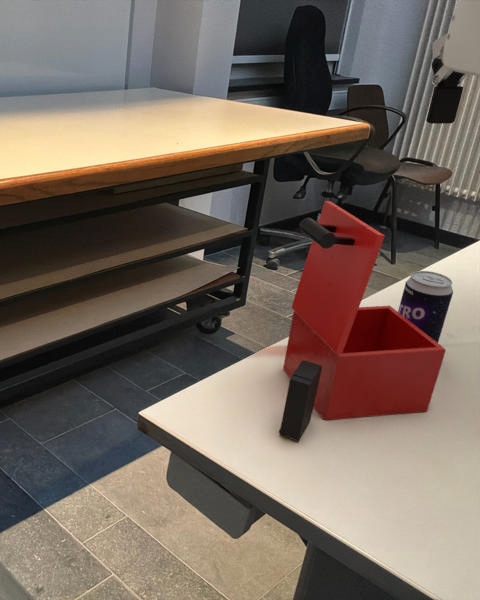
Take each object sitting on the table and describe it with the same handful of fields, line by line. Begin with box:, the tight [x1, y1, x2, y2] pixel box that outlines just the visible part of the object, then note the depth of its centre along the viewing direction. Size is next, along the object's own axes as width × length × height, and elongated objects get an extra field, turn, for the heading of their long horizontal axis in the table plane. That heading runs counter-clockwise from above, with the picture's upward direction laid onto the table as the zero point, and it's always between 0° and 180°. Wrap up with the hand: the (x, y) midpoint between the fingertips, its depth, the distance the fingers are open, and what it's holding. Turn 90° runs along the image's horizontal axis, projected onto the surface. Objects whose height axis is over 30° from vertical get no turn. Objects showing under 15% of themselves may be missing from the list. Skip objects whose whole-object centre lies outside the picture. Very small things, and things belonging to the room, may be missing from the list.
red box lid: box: [291, 200, 386, 353], centre depth 77 cm, size 14×11×5 cm
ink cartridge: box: [278, 360, 322, 442], centre depth 76 cm, size 5×2×8 cm, turn 147°
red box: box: [282, 305, 446, 421], centre depth 84 cm, size 13×11×9 cm
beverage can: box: [397, 270, 454, 344], centre depth 90 cm, size 6×6×12 cm
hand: (468, 132), depth 72 cm, fingers open, 9 cm apart
